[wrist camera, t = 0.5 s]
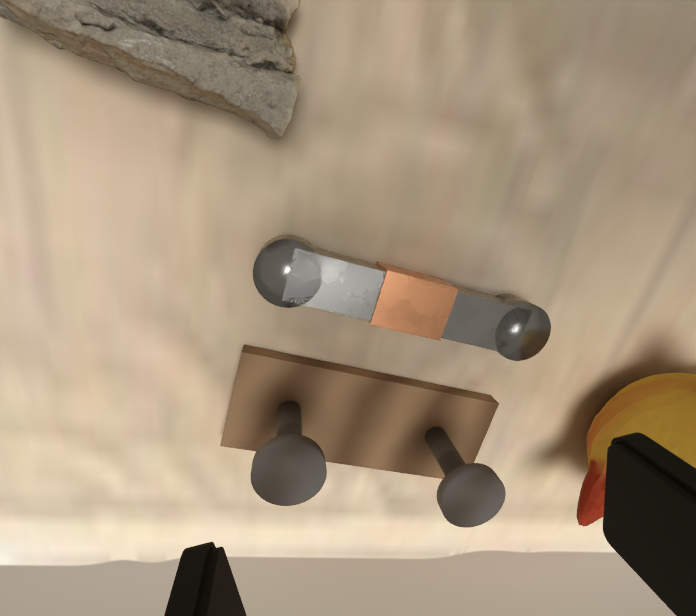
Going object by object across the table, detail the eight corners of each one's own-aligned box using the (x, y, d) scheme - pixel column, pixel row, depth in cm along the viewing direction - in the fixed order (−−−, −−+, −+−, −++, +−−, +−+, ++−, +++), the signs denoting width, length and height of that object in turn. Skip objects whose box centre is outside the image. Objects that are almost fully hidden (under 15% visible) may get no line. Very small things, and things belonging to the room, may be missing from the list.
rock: (248, 161, 32) (296, 140, 24) (-50, 64, 23) (-144, -29, 14) (270, 26, 31) (329, -46, 23) (-32, -138, 22) (-121, -366, 13)
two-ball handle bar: (534, 301, 35) (561, 312, 32) (514, 350, 37) (538, 366, 33) (264, 227, 30) (261, 231, 27) (251, 287, 31) (246, 299, 28)
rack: (490, 395, 38) (554, 459, 29) (459, 471, 40) (508, 553, 31) (244, 345, 32) (226, 403, 23) (223, 435, 35) (199, 520, 26)
